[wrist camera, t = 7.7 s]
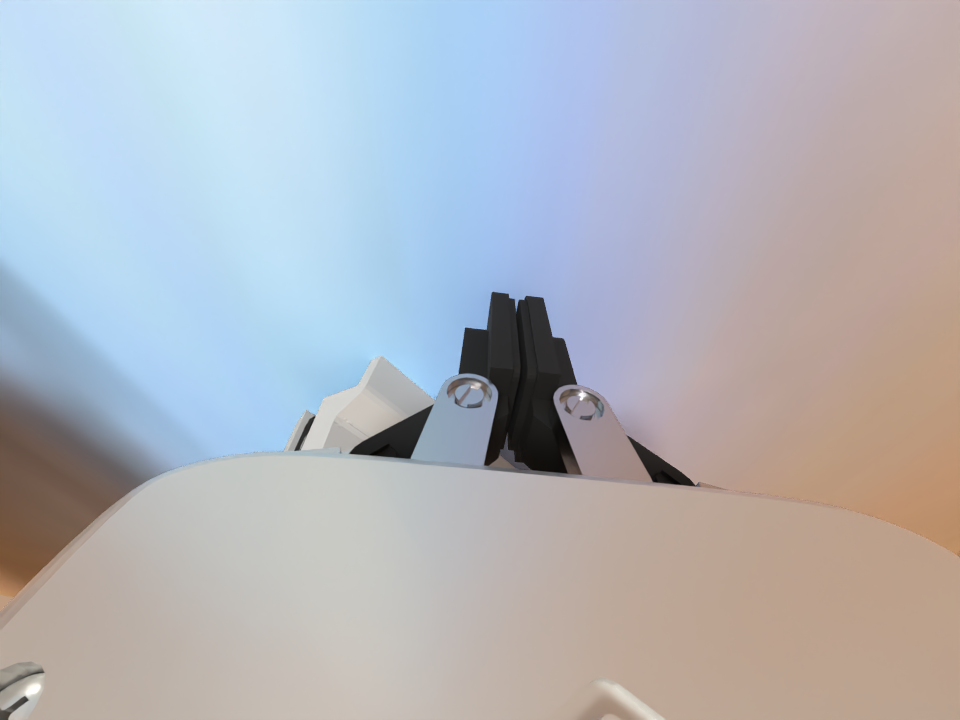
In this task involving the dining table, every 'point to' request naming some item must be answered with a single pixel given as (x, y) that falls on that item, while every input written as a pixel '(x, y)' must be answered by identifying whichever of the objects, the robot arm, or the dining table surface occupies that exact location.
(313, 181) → the dining table surface
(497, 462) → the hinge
